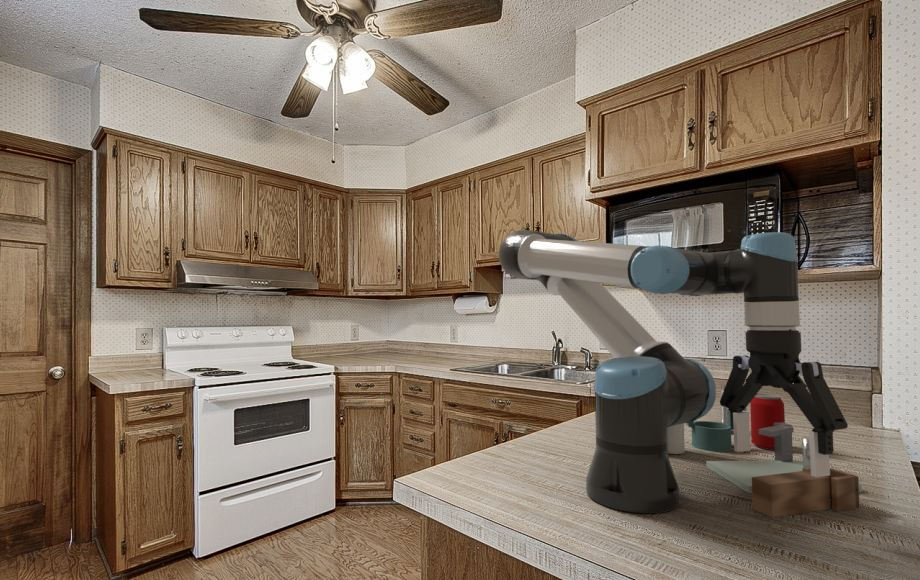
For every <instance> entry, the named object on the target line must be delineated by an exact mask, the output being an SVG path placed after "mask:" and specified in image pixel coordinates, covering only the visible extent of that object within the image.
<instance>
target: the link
mask: <svg viewBox="0 0 920 580" xmlns="http://www.w3.org/2000/svg"><path fill="white" fill-rule="evenodd" d="M859 483H860V482H859V476H858V475H854V474H851V473H848V472H844V471H842V470H838V469H835V468H832V467H830V475H829V476H822V477H814V476H811V467H810V468H803V471H799V472H791V473H782V474H774V475H766V476H757V477H752V493H751V494H752V495H751V498H752V499H751V500H752V509H753V510H755V511H756V512H759V513H761V514H763V515H765V516H768V517H770V518H780V517H785V516H791V515H798V514H804V513H805V514H806V513H811V512H818V511H825V510H826V511H827V510H831V508H832V511H836V512H841V511H842V512H843V511H850V510H855V509H860V492H859V485H860V484H859Z"/></svg>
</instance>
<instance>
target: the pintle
mask: <svg viewBox="0 0 920 580" xmlns="http://www.w3.org/2000/svg"><path fill="white" fill-rule="evenodd" d="M801 442H802V443H801V444H802V445H801V447H802V460H803V468H810V467H811V464H810V444H809V436H802V437H801Z"/></svg>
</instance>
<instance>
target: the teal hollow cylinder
mask: <svg viewBox="0 0 920 580" xmlns="http://www.w3.org/2000/svg"><path fill="white" fill-rule="evenodd" d="M685 425H686V426H687V427H688V428H691V445H692V447H694V448H696V449H698V450H702V451H707V452H715V453H726V452H730V451H732V448H733V447H732V445H733V443H732V431H733V430H732V428H731V413H730V411H729V409H727V424H724V423H719V422H716V421H711V420H696V421H693V422H691V423H685Z"/></svg>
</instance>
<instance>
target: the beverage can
mask: <svg viewBox="0 0 920 580" xmlns="http://www.w3.org/2000/svg"><path fill="white" fill-rule="evenodd" d="M749 404H750V406H749V407H750V410H749V411H750V412H749V414H750V442H751V443H752V444H753V445H755V446H756V447H757V448H759V449H762V450H763V449H764V450H769V451H775V443H774V437H769V436H765V435H760V434H759V429H761V428H766V427H772V426H774V423H776V422H784V423H786V419H785V417H786V416H785V415H786V414H785V403H784V401H783V400H782V398H781V396H780V395H779V394H772V393H757V394H756V396H755V397H754V398H753V399H752V401H751V402H750V403H749Z"/></svg>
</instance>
